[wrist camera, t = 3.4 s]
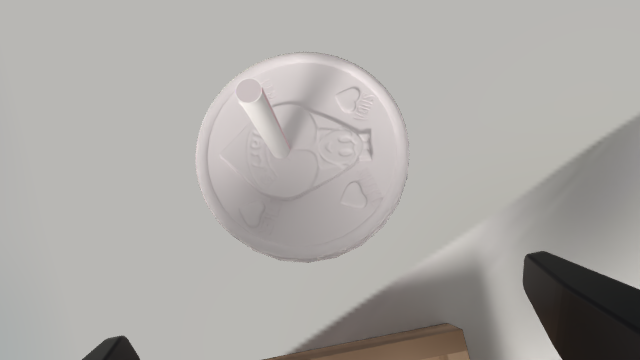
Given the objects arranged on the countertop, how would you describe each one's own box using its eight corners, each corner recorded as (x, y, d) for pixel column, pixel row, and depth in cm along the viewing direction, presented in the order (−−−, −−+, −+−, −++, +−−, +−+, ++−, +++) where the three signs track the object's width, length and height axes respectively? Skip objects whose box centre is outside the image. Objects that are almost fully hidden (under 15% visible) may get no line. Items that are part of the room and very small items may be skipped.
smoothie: (257, 146, 24) (127, -38, 10) (383, 138, 23) (423, -65, 10) (259, 273, 22) (111, 259, 9) (393, 267, 22) (457, 241, 8)
